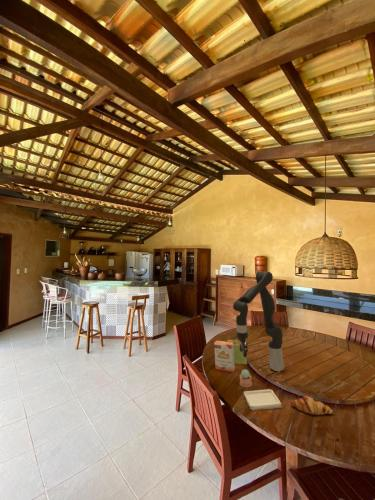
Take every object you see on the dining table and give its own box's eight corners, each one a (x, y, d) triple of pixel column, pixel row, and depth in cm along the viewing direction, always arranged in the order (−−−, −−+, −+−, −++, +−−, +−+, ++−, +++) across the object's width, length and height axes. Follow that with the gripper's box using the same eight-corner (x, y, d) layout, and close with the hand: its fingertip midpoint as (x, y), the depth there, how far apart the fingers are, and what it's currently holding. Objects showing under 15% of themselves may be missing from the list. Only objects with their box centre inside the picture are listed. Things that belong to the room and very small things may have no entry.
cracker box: (215, 369, 178) (213, 342, 178) (217, 366, 183) (216, 340, 183) (233, 372, 172) (231, 345, 172) (235, 369, 177) (233, 342, 178)
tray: (271, 392, 146) (271, 389, 146) (281, 407, 132) (281, 403, 132) (243, 395, 145) (243, 391, 145) (250, 410, 131) (250, 406, 131)
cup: (250, 379, 161) (249, 372, 161) (254, 386, 153) (253, 378, 153) (238, 380, 161) (237, 373, 161) (241, 387, 153) (241, 379, 153)
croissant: (332, 417, 127) (330, 400, 131) (335, 419, 119) (333, 401, 122) (290, 408, 135) (289, 392, 139) (290, 410, 127) (290, 393, 130)
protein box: (247, 364, 183) (246, 345, 184) (228, 363, 187) (226, 344, 187) (246, 358, 194) (245, 339, 194) (228, 357, 197) (227, 339, 197)
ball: (248, 375, 160) (247, 367, 160) (250, 379, 154) (250, 371, 154) (240, 375, 160) (240, 368, 160) (242, 380, 154) (242, 372, 154)
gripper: (250, 333, 151) (252, 358, 151) (244, 326, 165) (245, 349, 165) (239, 334, 151) (240, 359, 151) (234, 327, 165) (235, 350, 165)
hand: (243, 354), depth 158 cm, fingers open, 8 cm apart
